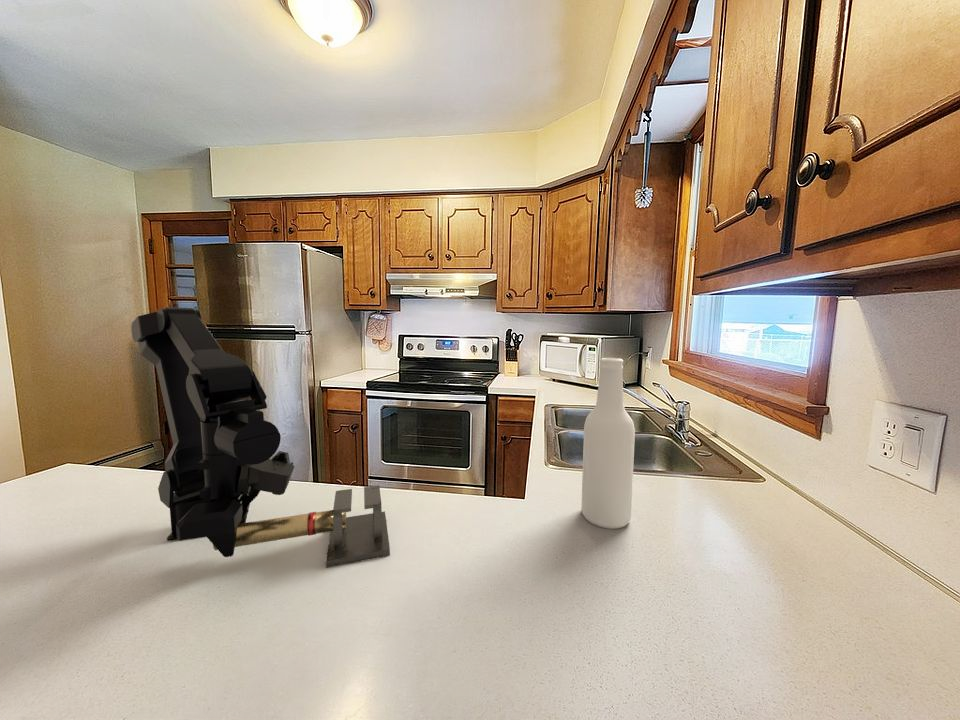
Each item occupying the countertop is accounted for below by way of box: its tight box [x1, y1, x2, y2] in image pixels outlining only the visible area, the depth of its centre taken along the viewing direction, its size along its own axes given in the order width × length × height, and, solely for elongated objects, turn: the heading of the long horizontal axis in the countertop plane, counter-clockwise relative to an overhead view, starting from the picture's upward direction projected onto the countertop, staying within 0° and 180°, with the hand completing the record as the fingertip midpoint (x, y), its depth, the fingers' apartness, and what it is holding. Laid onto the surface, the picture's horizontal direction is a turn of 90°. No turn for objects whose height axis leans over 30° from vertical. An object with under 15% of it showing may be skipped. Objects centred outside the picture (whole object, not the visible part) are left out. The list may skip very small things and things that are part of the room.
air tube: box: [212, 509, 347, 551], centre depth 56 cm, size 18×3×3 cm, turn 108°
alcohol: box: [580, 357, 636, 530], centre depth 66 cm, size 9×9×30 cm
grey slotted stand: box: [325, 484, 391, 569], centre depth 60 cm, size 9×12×7 cm
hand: (233, 548), depth 54 cm, fingers open, 4 cm apart
